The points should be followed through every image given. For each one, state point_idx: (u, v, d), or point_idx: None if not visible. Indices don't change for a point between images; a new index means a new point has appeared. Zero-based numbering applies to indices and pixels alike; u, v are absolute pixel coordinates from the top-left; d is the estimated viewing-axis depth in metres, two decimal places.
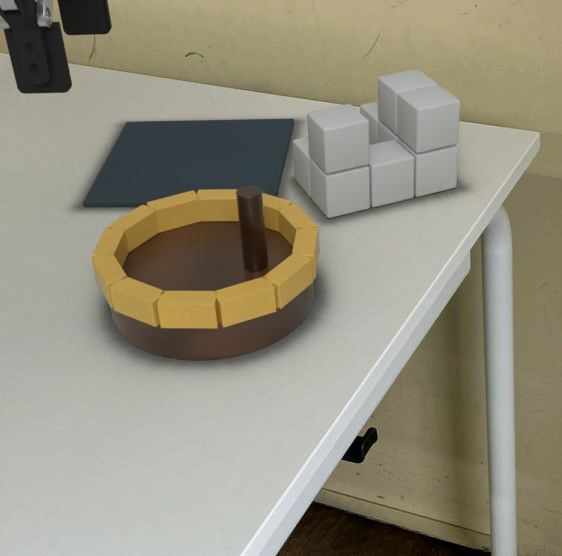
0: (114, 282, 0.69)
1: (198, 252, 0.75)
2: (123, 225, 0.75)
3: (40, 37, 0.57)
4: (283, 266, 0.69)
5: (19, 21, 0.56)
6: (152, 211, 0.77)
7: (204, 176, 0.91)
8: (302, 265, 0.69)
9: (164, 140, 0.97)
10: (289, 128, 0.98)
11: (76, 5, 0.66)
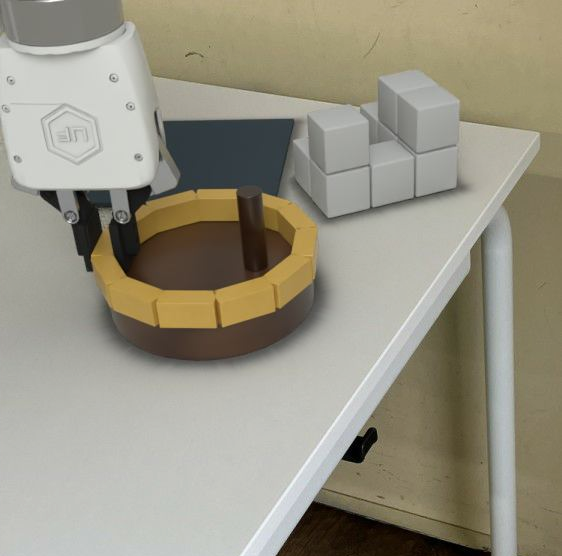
0: (113, 281, 0.69)
1: (198, 252, 0.75)
2: None
3: None
4: (282, 266, 0.69)
5: None
6: (151, 211, 0.77)
7: (204, 176, 0.91)
8: (301, 265, 0.69)
9: None
10: (289, 128, 0.98)
11: (96, 241, 0.73)
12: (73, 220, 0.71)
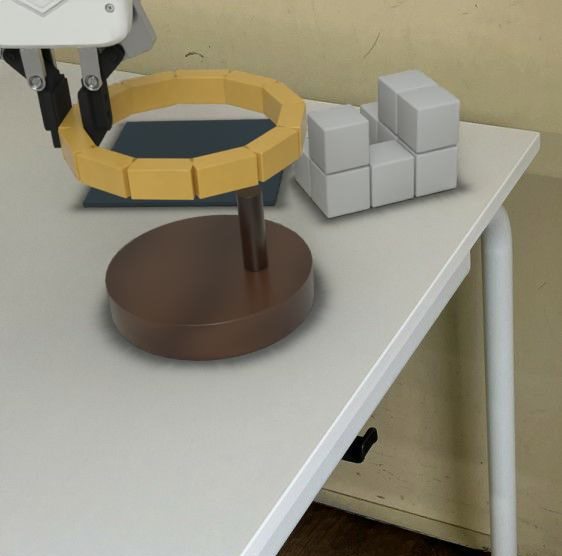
0: (81, 150, 0.63)
1: (198, 252, 0.75)
2: None
3: (107, 85, 0.67)
4: (267, 137, 0.63)
5: None
6: (125, 88, 0.71)
7: None
8: (287, 136, 0.63)
9: (164, 140, 0.97)
10: None
11: (64, 113, 0.67)
12: (39, 87, 0.65)
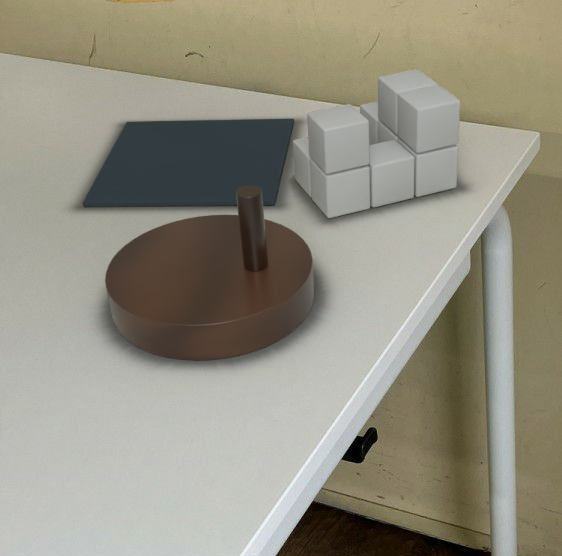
0: None
1: (198, 252, 0.75)
2: None
3: None
4: None
5: None
6: None
7: (204, 176, 0.91)
8: None
9: (164, 140, 0.97)
10: (289, 128, 0.98)
11: None
12: None
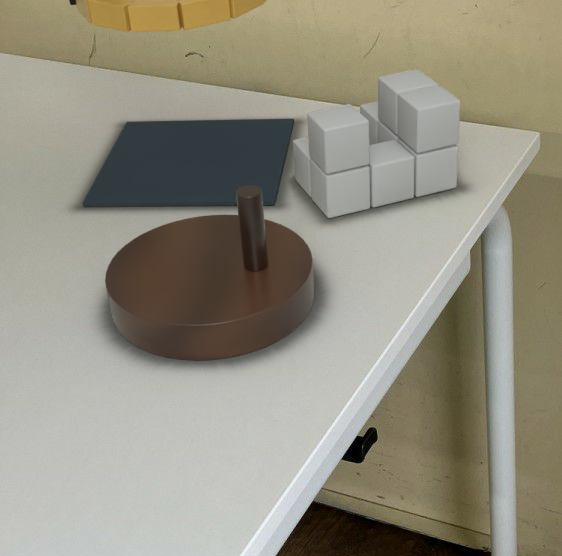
0: None
1: (198, 252, 0.75)
2: None
3: None
4: None
5: None
6: None
7: (204, 176, 0.91)
8: None
9: (164, 140, 0.97)
10: (289, 128, 0.98)
11: None
12: None
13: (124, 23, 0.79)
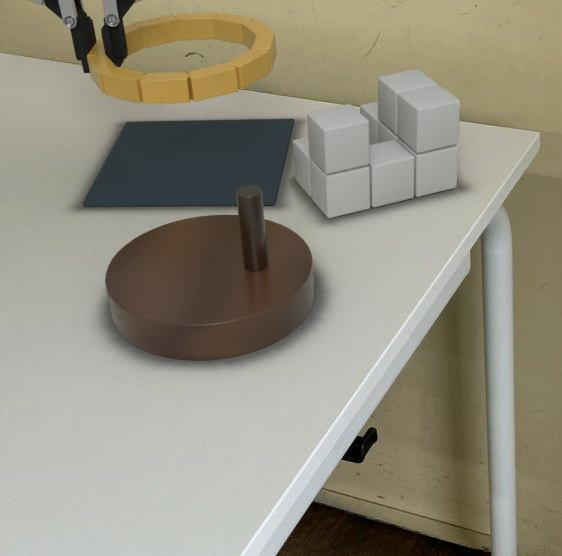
0: (105, 69, 0.84)
1: (198, 252, 0.75)
2: None
3: None
4: (244, 56, 0.84)
5: None
6: (137, 27, 0.92)
7: (204, 176, 0.91)
8: (259, 55, 0.84)
9: (164, 140, 0.97)
10: (289, 128, 0.98)
11: (91, 46, 0.88)
12: (72, 25, 0.86)
13: (136, 95, 0.83)
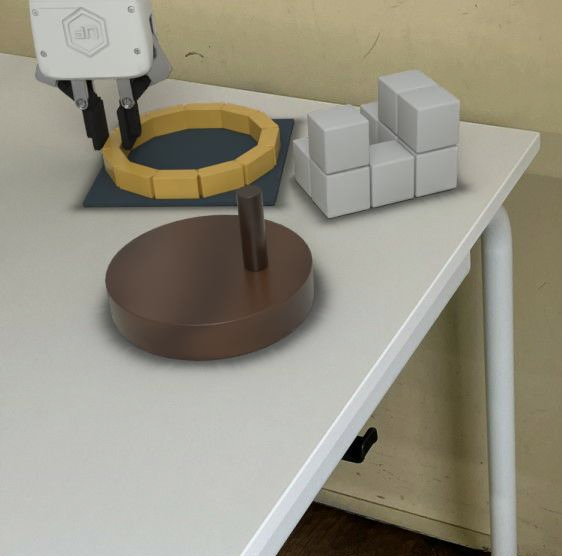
0: (119, 165, 0.89)
1: (198, 252, 0.75)
2: None
3: (137, 104, 0.92)
4: (250, 153, 0.89)
5: None
6: (149, 118, 0.97)
7: None
8: (265, 152, 0.89)
9: (164, 140, 0.97)
10: (289, 128, 0.98)
11: (101, 125, 0.93)
12: (83, 106, 0.91)
13: (149, 191, 0.88)
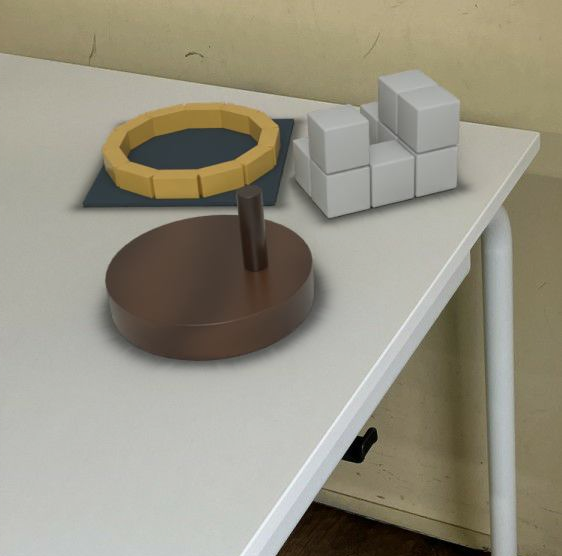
0: (120, 164, 0.89)
1: (198, 252, 0.75)
2: (127, 128, 0.95)
3: None
4: (250, 153, 0.89)
5: None
6: (149, 118, 0.97)
7: None
8: (265, 152, 0.89)
9: (164, 140, 0.97)
10: (289, 128, 0.98)
11: None
12: None
13: (149, 191, 0.88)
